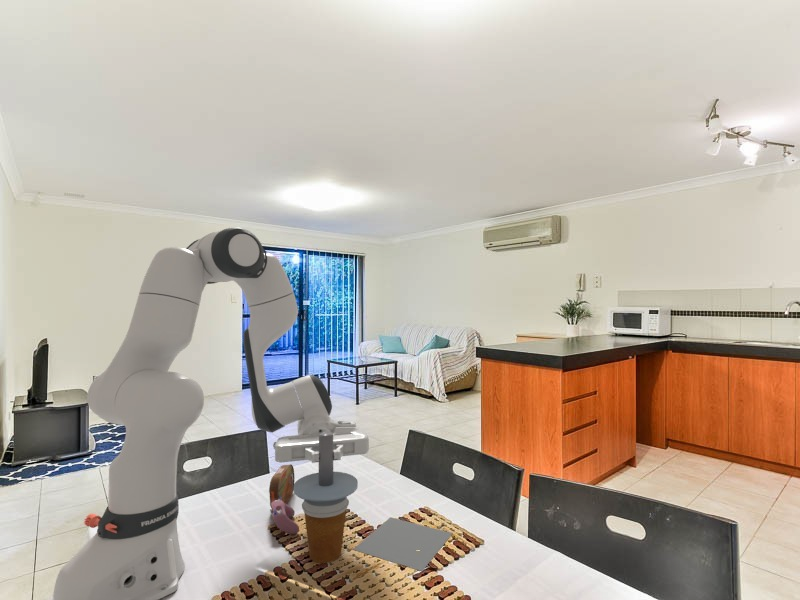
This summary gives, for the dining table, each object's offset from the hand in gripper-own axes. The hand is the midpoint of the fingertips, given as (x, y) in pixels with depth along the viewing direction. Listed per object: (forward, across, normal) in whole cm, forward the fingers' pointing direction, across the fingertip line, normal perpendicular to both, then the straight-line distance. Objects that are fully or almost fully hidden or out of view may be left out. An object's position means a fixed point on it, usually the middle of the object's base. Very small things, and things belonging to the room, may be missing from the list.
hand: (326, 457), depth 88 cm
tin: (-30, -8, +21) cm, 37 cm away
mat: (-1, +17, +20) cm, 26 cm away
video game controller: (-16, -8, +21) cm, 27 cm away
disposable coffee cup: (-1, 0, +20) cm, 21 cm away
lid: (-1, 0, +6) cm, 6 cm away
